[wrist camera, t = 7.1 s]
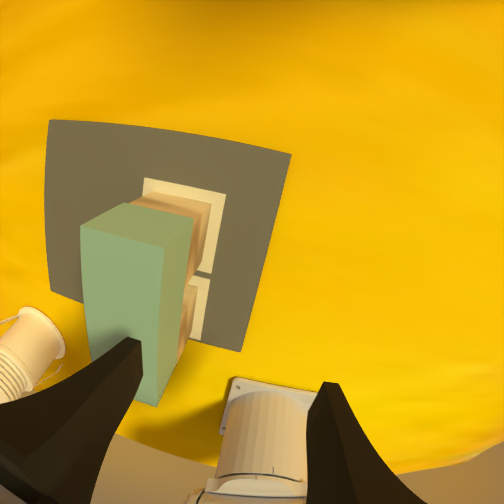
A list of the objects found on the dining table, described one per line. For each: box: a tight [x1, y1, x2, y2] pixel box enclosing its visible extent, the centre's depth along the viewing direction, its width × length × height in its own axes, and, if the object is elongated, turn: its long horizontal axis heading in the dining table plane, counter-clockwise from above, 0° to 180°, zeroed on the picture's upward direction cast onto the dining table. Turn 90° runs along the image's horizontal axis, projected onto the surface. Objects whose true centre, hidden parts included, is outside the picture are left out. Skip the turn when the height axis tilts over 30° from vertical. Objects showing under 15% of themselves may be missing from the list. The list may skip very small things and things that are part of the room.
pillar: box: [129, 191, 212, 290], centre depth 18 cm, size 4×4×4 cm
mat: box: [44, 120, 291, 352], centre depth 20 cm, size 15×18×1 cm
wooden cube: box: [176, 284, 198, 365], centre depth 20 cm, size 4×4×4 cm
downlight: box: [0, 307, 66, 404], centre depth 22 cm, size 8×7×10 cm
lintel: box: [80, 203, 194, 407], centre depth 15 cm, size 10×4×4 cm, turn 168°
